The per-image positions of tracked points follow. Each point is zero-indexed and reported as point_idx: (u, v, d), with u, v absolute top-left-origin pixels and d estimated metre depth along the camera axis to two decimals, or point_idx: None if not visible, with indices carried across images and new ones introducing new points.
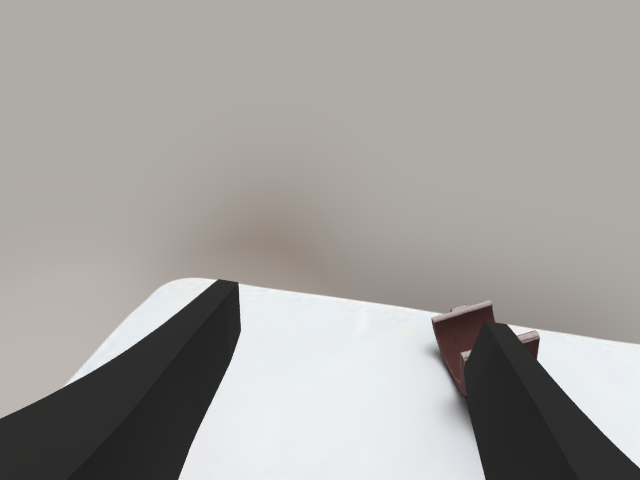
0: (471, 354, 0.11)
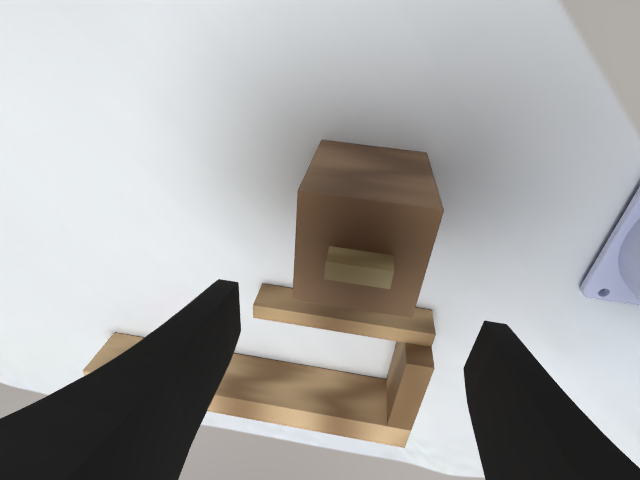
0: (471, 354, 0.11)
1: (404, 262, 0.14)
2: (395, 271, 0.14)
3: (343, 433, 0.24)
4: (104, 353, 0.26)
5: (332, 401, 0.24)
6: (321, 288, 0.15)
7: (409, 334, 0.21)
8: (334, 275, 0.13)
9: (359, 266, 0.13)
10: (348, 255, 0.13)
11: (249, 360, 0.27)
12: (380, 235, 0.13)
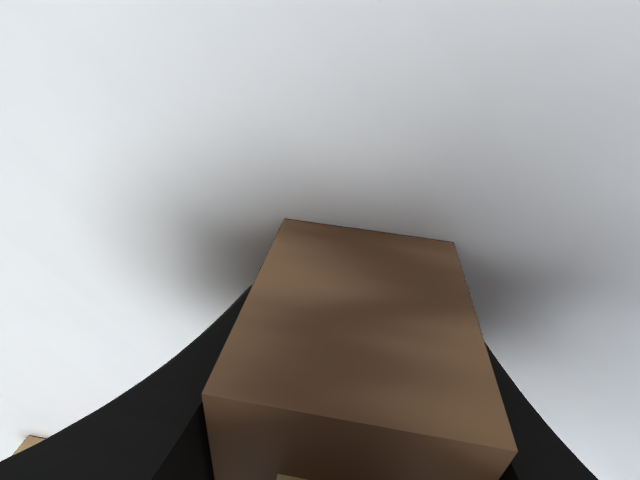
0: None
1: None
2: None
3: None
4: None
5: None
6: None
7: None
8: None
9: None
10: None
11: None
12: (378, 471, 0.06)
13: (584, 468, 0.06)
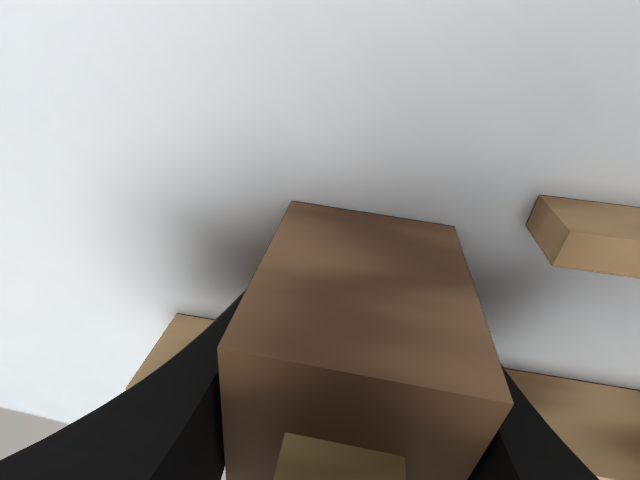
0: None
1: (425, 468, 0.07)
2: (408, 477, 0.08)
3: None
4: (164, 352, 0.13)
5: None
6: None
7: None
8: None
9: None
10: (318, 462, 0.07)
11: None
12: (380, 428, 0.07)
13: (585, 468, 0.06)
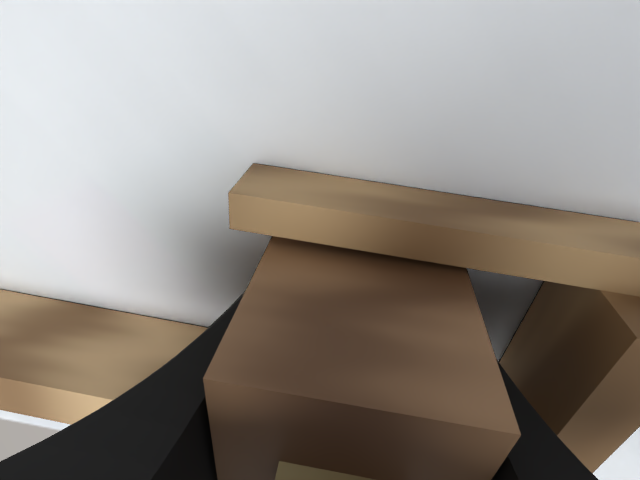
0: None
1: None
2: None
3: None
4: None
5: None
6: None
7: (621, 267, 0.08)
8: None
9: None
10: None
11: None
12: (380, 457, 0.06)
13: (584, 468, 0.06)
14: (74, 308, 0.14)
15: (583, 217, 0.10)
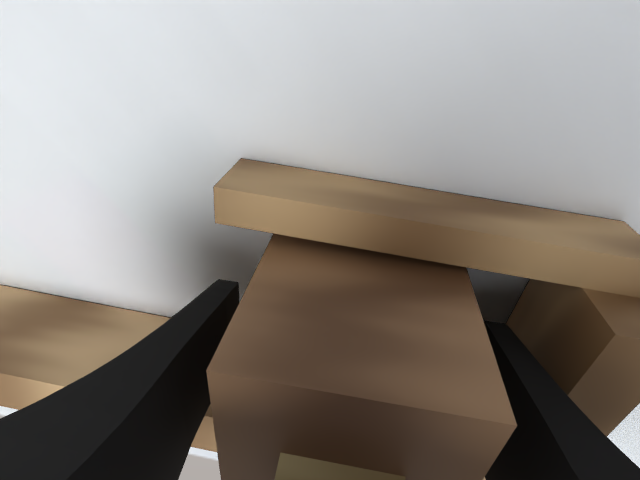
0: None
1: None
2: None
3: None
4: None
5: None
6: None
7: (602, 265, 0.08)
8: None
9: None
10: None
11: None
12: (379, 449, 0.07)
13: None
14: (63, 302, 0.14)
15: (567, 215, 0.10)
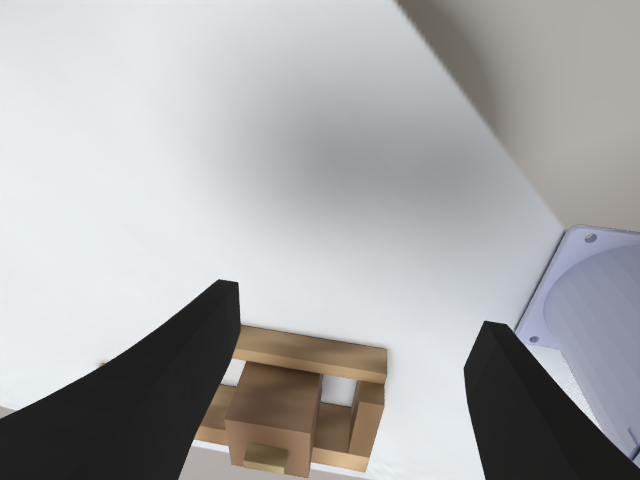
0: (471, 354, 0.11)
1: (295, 453, 0.22)
2: (291, 456, 0.22)
3: None
4: None
5: None
6: None
7: (364, 373, 0.23)
8: (249, 466, 0.21)
9: (263, 463, 0.21)
10: (258, 452, 0.22)
11: (225, 390, 0.29)
12: (277, 441, 0.21)
13: None
14: None
15: (363, 348, 0.24)
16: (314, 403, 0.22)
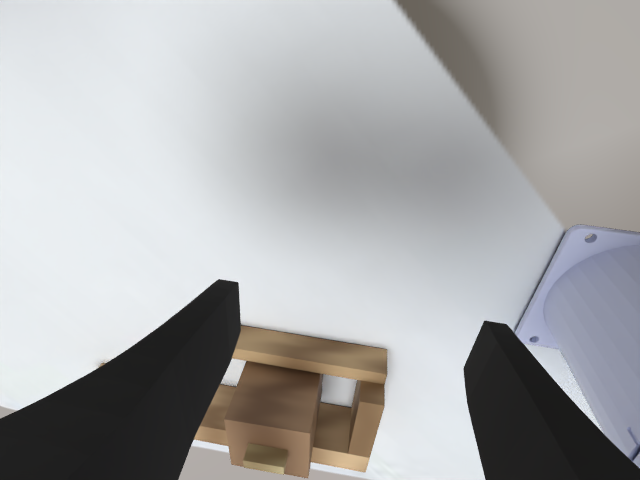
0: (471, 354, 0.11)
1: (295, 453, 0.22)
2: (291, 456, 0.22)
3: None
4: None
5: None
6: None
7: (364, 373, 0.23)
8: (249, 466, 0.21)
9: (263, 463, 0.21)
10: (258, 452, 0.22)
11: (225, 390, 0.29)
12: (277, 441, 0.21)
13: None
14: None
15: (363, 348, 0.24)
16: (314, 403, 0.22)
